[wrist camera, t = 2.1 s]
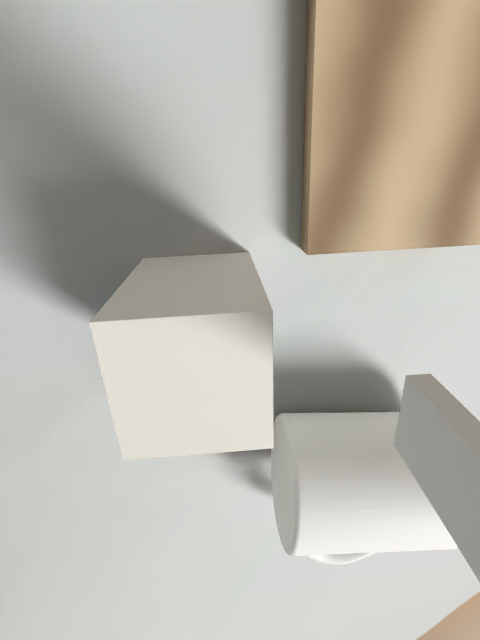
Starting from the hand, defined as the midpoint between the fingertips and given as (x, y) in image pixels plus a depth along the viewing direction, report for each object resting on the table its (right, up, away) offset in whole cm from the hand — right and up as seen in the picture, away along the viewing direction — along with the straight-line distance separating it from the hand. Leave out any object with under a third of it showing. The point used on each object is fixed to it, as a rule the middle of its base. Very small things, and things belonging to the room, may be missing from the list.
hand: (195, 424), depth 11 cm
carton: (-1, +4, +10) cm, 11 cm away
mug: (+9, -7, +16) cm, 19 cm away
